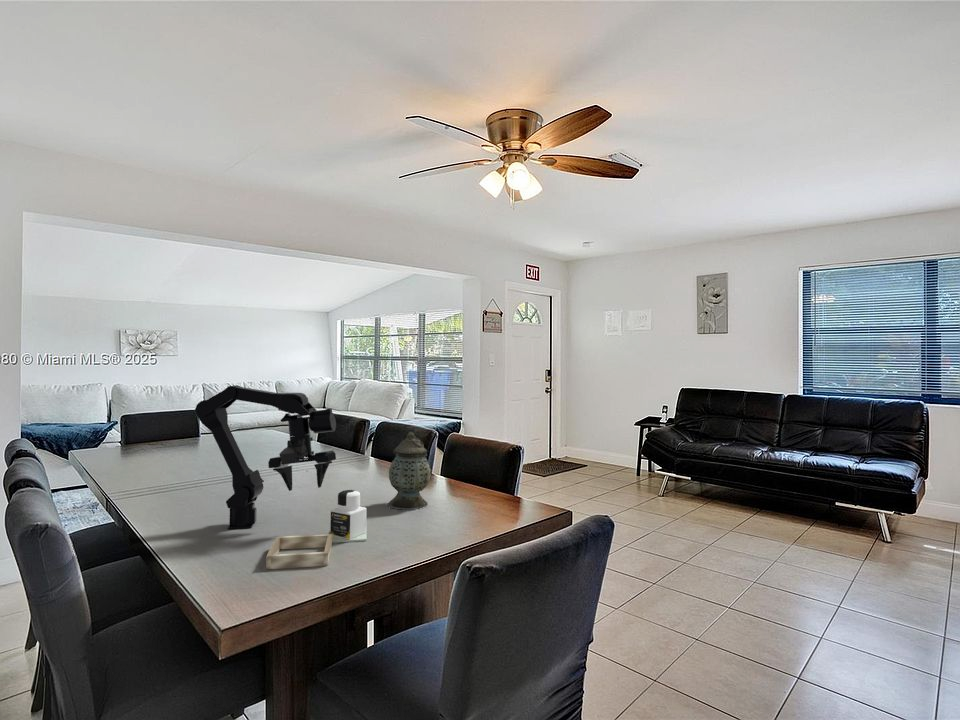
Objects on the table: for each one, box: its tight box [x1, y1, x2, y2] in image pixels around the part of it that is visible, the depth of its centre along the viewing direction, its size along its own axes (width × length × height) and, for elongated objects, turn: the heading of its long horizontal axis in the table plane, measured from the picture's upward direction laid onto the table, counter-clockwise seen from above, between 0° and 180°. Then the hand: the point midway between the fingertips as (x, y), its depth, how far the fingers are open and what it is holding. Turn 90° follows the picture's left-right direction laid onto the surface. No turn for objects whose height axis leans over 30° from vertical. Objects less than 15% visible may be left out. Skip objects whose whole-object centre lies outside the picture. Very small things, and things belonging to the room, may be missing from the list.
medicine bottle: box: [329, 489, 367, 539], centre depth 149 cm, size 7×7×12 cm
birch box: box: [265, 533, 333, 570], centre depth 133 cm, size 14×14×3 cm
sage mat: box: [332, 527, 368, 544], centre depth 149 cm, size 10×10×1 cm
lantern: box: [387, 431, 432, 511], centre depth 181 cm, size 14×14×25 cm
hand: (304, 489), depth 155 cm, fingers open, 9 cm apart
